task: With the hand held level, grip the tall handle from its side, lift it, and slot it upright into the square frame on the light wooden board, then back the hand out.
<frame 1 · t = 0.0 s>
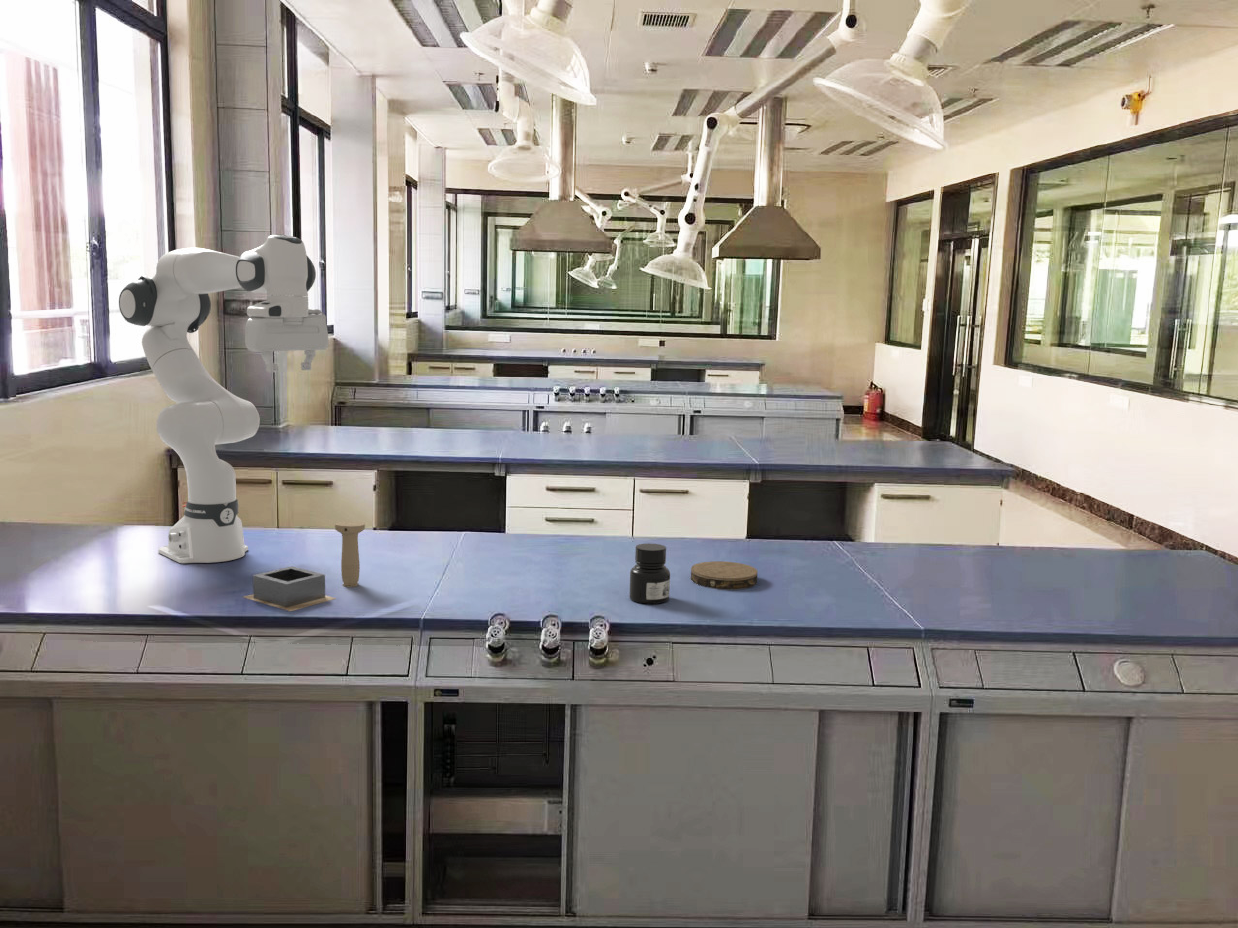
hand: (289, 371, 236), 48 cm above the countertop, tool pointing down, fingers open, 8 cm apart
square frame: (289, 597, 224), resting on base board
base board: (289, 602, 224), on the countertop
brown round disc: (723, 582, 251), on the countertop
handle: (350, 590, 235), on the countertop
ink bottle: (649, 600, 234), on the countertop
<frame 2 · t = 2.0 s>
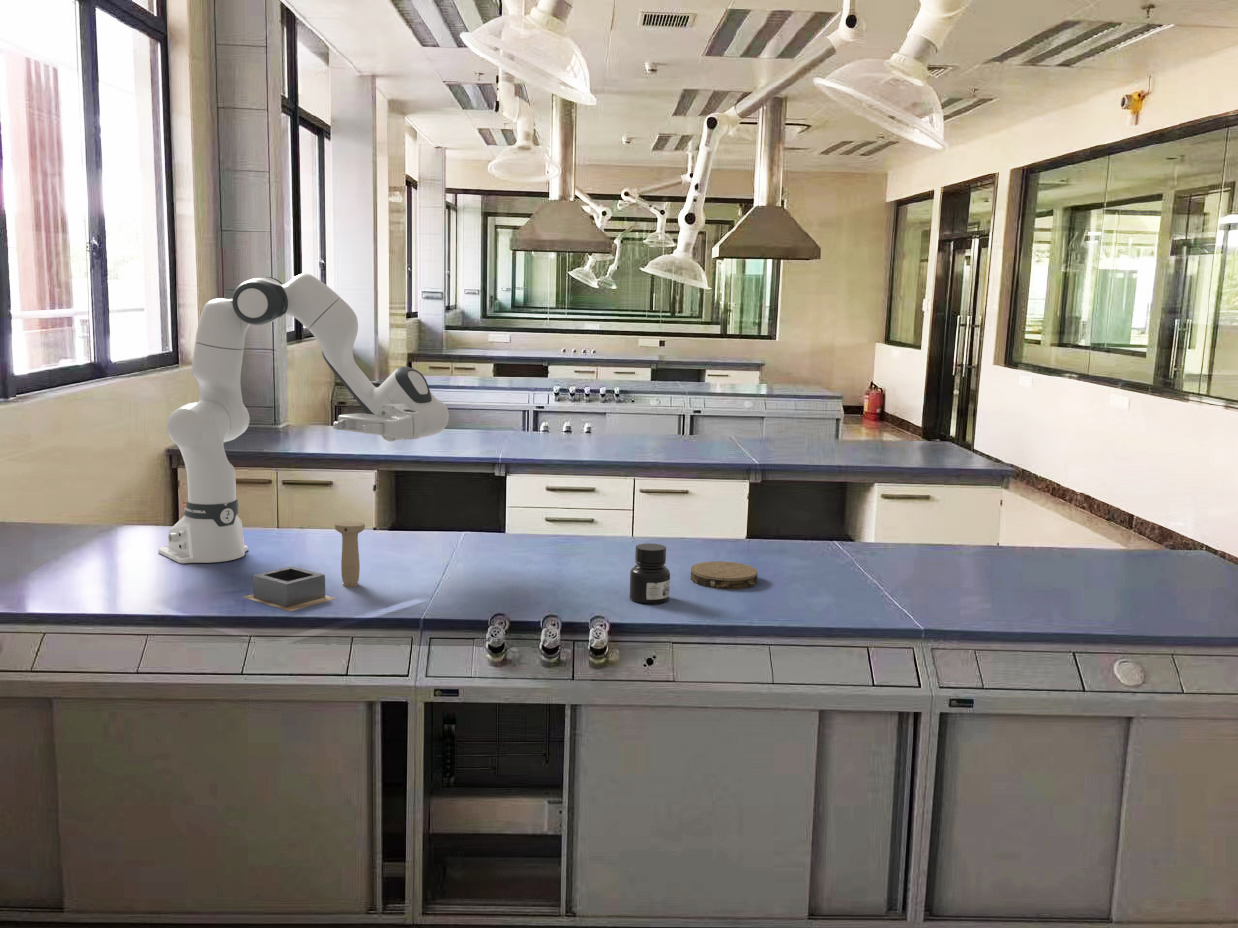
hand: (348, 427, 240), 35 cm above the countertop, tool horizontal, fingers open, 8 cm apart
nothing on the countertop moved.
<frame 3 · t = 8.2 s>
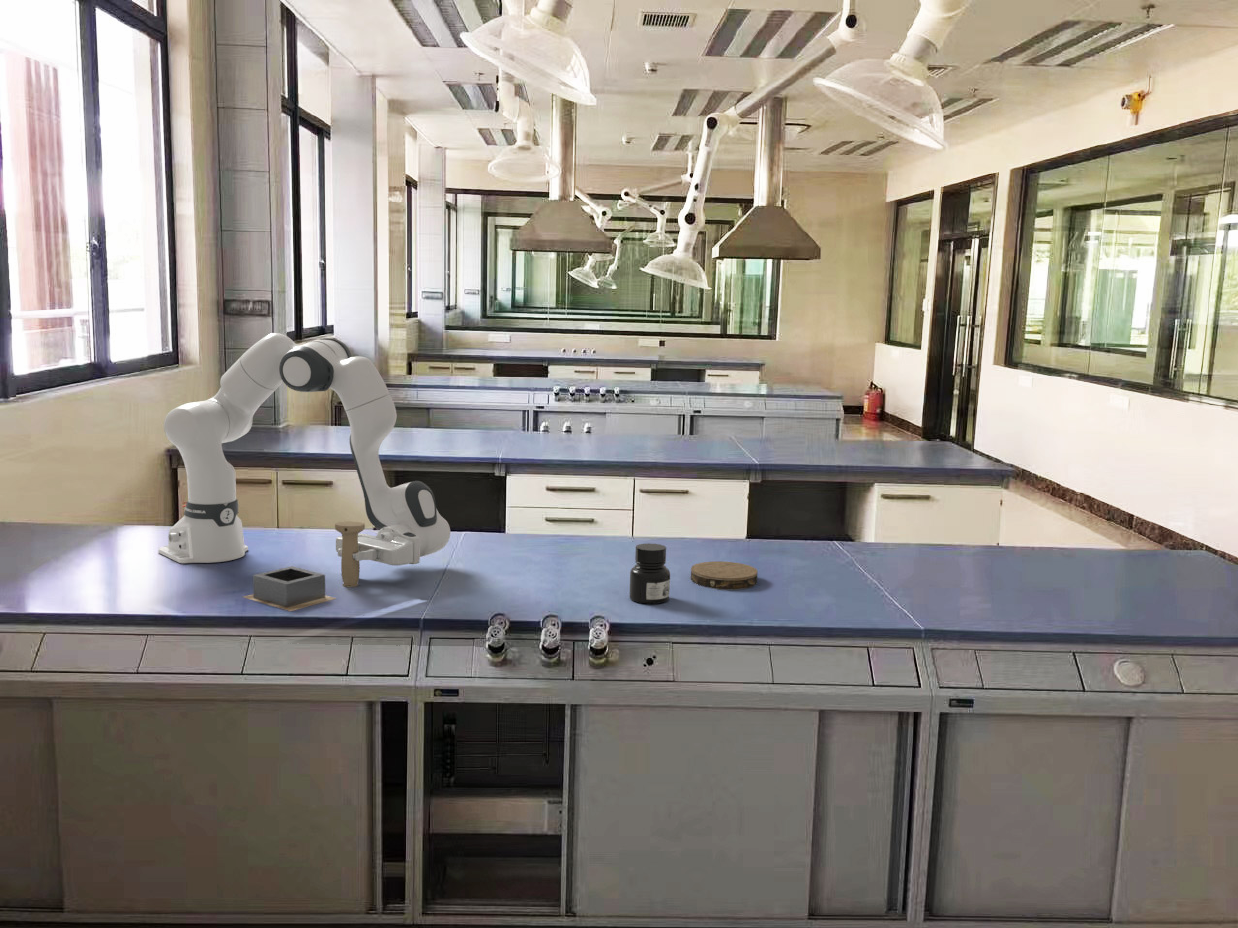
hand: (347, 555, 233), 8 cm above the countertop, tool horizontal, fingers closed on handle, 3 cm apart
handle: (350, 589, 235), on the countertop, touching gripper
everything else where it was.
when the fingers open (10 cm above the countertop, at t = 13.5 s): handle drops 1 cm, resting on base board.
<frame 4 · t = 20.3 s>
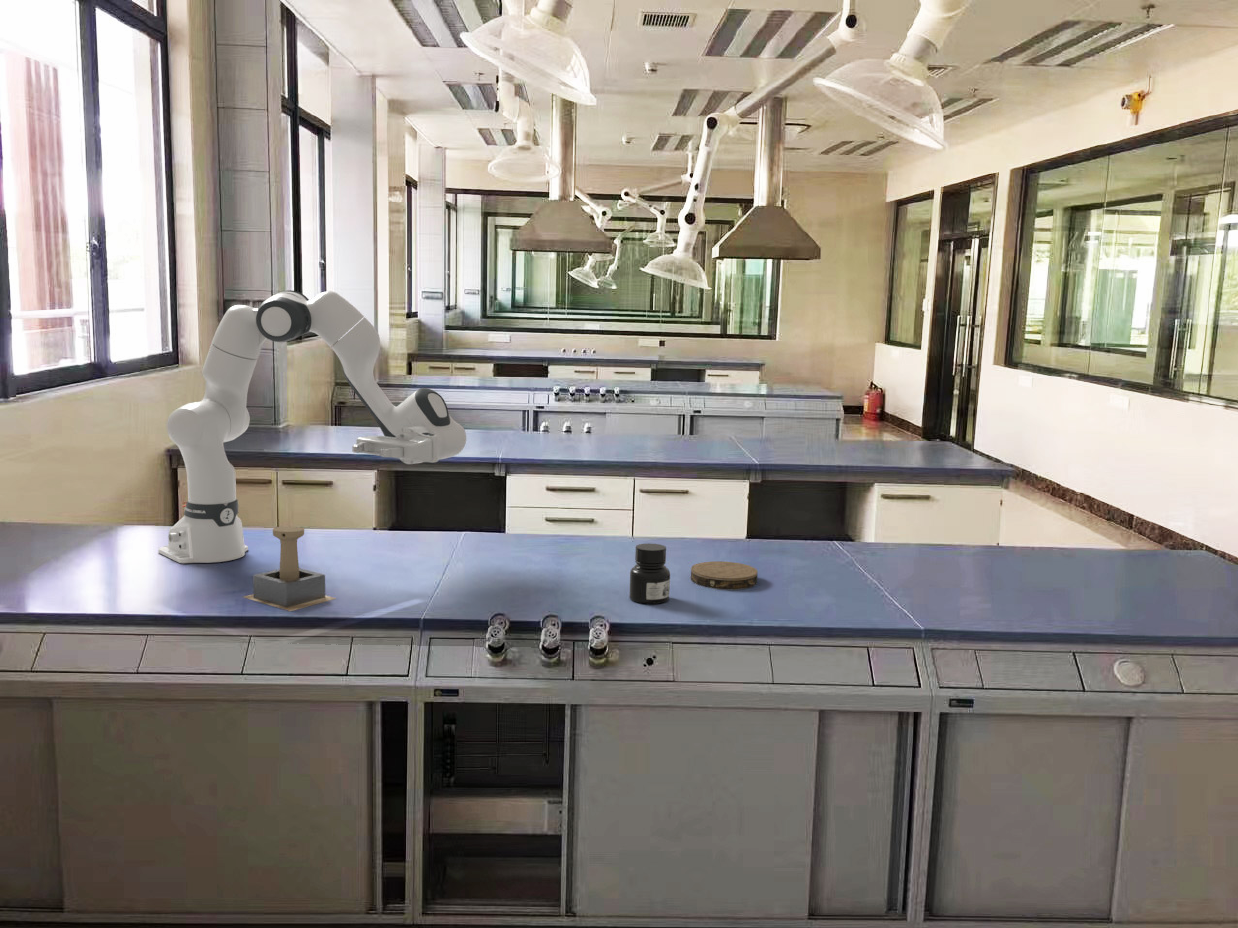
hand: (368, 451, 240), 30 cm above the countertop, tool horizontal, fingers open, 8 cm apart
handle: (290, 598, 224), point 1 cm above the countertop, touching base board
everything else where it was.
at the end: handle 0.1 cm off-centre on the square frame, point 0.0 cm above the square frame's base; handle tilted 0°; the gripper is holding nothing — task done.
